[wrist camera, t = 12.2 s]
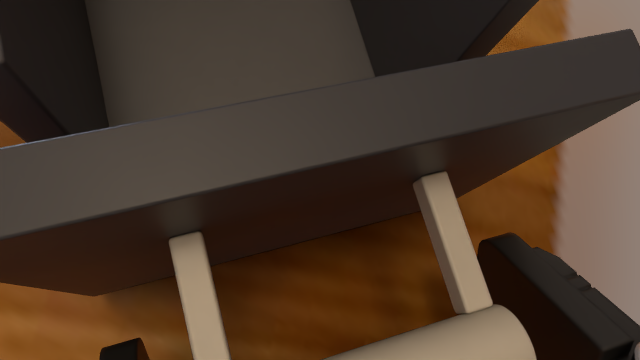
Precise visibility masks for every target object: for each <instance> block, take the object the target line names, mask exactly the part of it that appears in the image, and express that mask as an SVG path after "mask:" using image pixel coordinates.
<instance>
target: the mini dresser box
mask: <svg viewBox="0 0 640 360" xmlns="http://www.w3.org/2000/svg"><path fill="white" fill-rule="evenodd" d="M538 1H539V0H0V121H1V122H3V123H4V124H5V125H6V126H7V127H9V128H10V129H11V130H12V131H13V132H15V133H16V134H17V135H18V136H19V137H21V138H22V139H23V140H24V141H25V142H26V143H24V144H18V145H13V146H8V147H2V148H0V282H1V283H7V284H14V285H21V286H27V287H34V288H41V289H47V290H54V291H61V292H67V293H74V294H81V295H88V296H98V295H102V294H106V293H109V292H113V291H117V290H121V289H125V288H128V287H132V286H136V285H140V284H144V283H147V282H151V281H155V280H159V279H163V278H166V277H170V276H174V275H176V279H177V284H178V289H179V293H180V298H181V303H182V308H183V312H184V317H185V322H186V326H187V331H188V336H189V340H190V345H191V350H192V355H193V359H194V360H232V359H231V354H230V350H229V346H228V341H227V337H226V333H225V328H224V324H223V320H222V315H221V311H220V306H219V302H218V298H217V293H216V289H215V285H214V280H213V276H212V272H211V267H210V266H212V265H216V264H220V263H224V262H227V261H231V260H235V259H239V258H243V257H246V256H250V255H254V254H258V253H262V252H265V251H269V250H273V249H277V248H281V247H284V246H288V245H292V244H296V243H300V242H303V241H307V240H311V239H315V238H319V237H322V236H326V235H330V234H334V233H338V232H342V231H345V230H349V229H353V228H357V227H361V226H364V225H368V224H372V223H376V222H380V221H383V220H387V219H391V218H395V217H399V216H402V215H406V214H410V213H414V212H418V211H421V212H422V215H423V218H424V221H425V224H426V227H427V230H428V233H429V236H430V239H431V242H432V245H433V248H434V251H435V254H436V257H437V260H438V263H439V266H440V269H441V272H442V275H443V278H444V281H445V284H446V287H447V290H448V293H449V296H450V299H451V302H452V305H453V308H454V311H455V312H456V313H457V314H461V315H458V316H455V317H451V318H448V319H445V320H442V321H439V322H436V323H433V324H430V325H427V326H424V327H421V328H417V329H414V330H411V331H408V332H405V333H402V334H399V335H396V336H393V337H390V338H386V339H383V340H380V341H377V342H374V343H371V344H368V345H365V346H362V347H359V348H356V349H352V350H349V351H346V352H343V353H340V354H337V355H334V356H331V357H328V358H325V359H321V360H537V359H536V354H535V351H534V348H533V345H532V343H531V340H530V338H529V336H528V334H527V332H526V330H525V329H524V327H523V326H522V324H521V323H520V321H519V320H518V319H517V318H516V316H515V315H514V314H513V313H512V312H510V311H509V310H508V309H507V308H505V307H503V306H501V305H495V304H493V302H492V299H491V297H490V294H489V291H488V288H487V285H486V282H485V279H484V277H483V274H482V271H481V268H480V265H479V262H478V260H477V257H476V254H475V251H474V248H473V245H472V242H471V240H470V237H469V234H468V231H467V228H466V225H465V223H464V220H463V217H462V214H461V211H460V208H459V205H458V203H457V200H456V198H458V197H460V196H462V195H464V194H466V193H467V192H469V191H471V190H473V189H475V188H477V187H479V186H481V185H482V184H484V183H486V182H488V181H490V180H492V179H494V178H495V177H497V176H499V175H501V174H503V173H505V172H507V171H508V170H510V169H512V168H514V167H516V166H518V165H520V164H522V163H523V162H525V161H527V160H529V159H531V158H533V157H535V156H536V155H538V154H540V153H542V152H544V151H546V150H548V149H549V148H551V147H553V146H555V145H557V144H559V143H561V142H562V141H564V140H566V139H568V138H570V137H572V136H574V135H576V134H577V133H579V132H581V131H583V130H585V129H587V128H588V127H590V126H592V125H594V124H596V123H598V122H600V121H601V120H603V119H605V118H607V117H609V116H611V115H613V114H615V113H616V112H618V111H620V110H622V109H624V108H626V107H628V106H630V105H631V104H633V103H635V102H637V101H639V100H640V46H639V43H638V41H637V39H636V37H635V35H634V33H633V31H632V30H631V29H626V30H621V31H616V32H611V33H605V34H601V35H595V36H589V37H584V38H579V39H573V40H568V41H563V42H558V43H552V44H547V45H542V46H536V47H531V48H526V49H521V50H515V51H510V52H505V53H499V54H494V55H489V56H486V55H487V54H488V53H489V52H490V51H491V50H492V49H493V48H494V46H495V45H496V44H497V43H498V42H499V41H500V40H501V39H502V38H503V37H504V36H505V35H506V34H507V33H508V32H509V31H510V30H511V29H512V28H513V27H514V26H515V25H516V24H517V22H518V21H519V20H520V19H521V18H522V17H523V16H524V15H525V14H526V13H527V12H528V11H529V10H530V9H531V8H532V7H533V6H534V5H535V4H536V3H537V2H538Z"/></svg>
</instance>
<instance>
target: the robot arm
mask: <svg viewBox="0 0 640 360" xmlns="http://www.w3.org/2000/svg"><path fill="white" fill-rule="evenodd" d="M477 260H478V262H479V265H480V268H481V271H482V274H483V277H484V279H485V282H486V285H487V288H488V291H489V294H490V297H491V299H492V302H493V304H495V305H501V306H503V307H505V308H507V309H508V310H509V311H510V312H512V313H513V314H514V315H515V316H516V318H517V319H518V320H519V321H520V323H521V324H522V326H523V327H524V329H525V330H526V332H527V334H528V336H529V338H530V340H531V343H532V345H533V348H534V351H535V354H536V359H537V360H640V326H639V325H638V324H637V323H635V322H634V321H633V320H632V319H631V318H630V317H629V316H627V315H626V314H625V313H624V312H623V311H621V310H620V309H619V308H618V307H617V306H616V305H614V304H613V303H612V302H611V301H610V300H609V299H607V298H606V297H605V296H604V295H602V294H601V293H600V292H599V291H598V290H597V289H595V288H592V287H591V284H590V283H589V282H587V281H586V280H585V279H584V278H583V277H581V276H580V275H579V276H578V275H577V273H576V272H575V271H574V270H573V269H572V268H571V267H570V266H568V265H567V264H566V263H565V262H564V261H563V260H562V259H560V258H559V257H557V256H555V255H553V254H551V253H549V252H547V251H544V250H542V249H540V248H538V247H535V248H531V247H530V246H529V245H528V244H527V243H525V242H524V241H523V240H522V239H521V238H520V237H519V236H517V235H516V234H514V233H506V234H502V235H499V236H495V237H492V238H488V239H485V240H482V241H481V242H480V243H479V247H478V254H477ZM100 360H150V359H149V357H148V354H147V352H146V349H145V346H144V344H143V342H142V340H141V338H136V339H132V340H129V341H125V342H122V343H118V344H115V345H111V346H108V347H104V348H102V349H101V352H100Z"/></svg>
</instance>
